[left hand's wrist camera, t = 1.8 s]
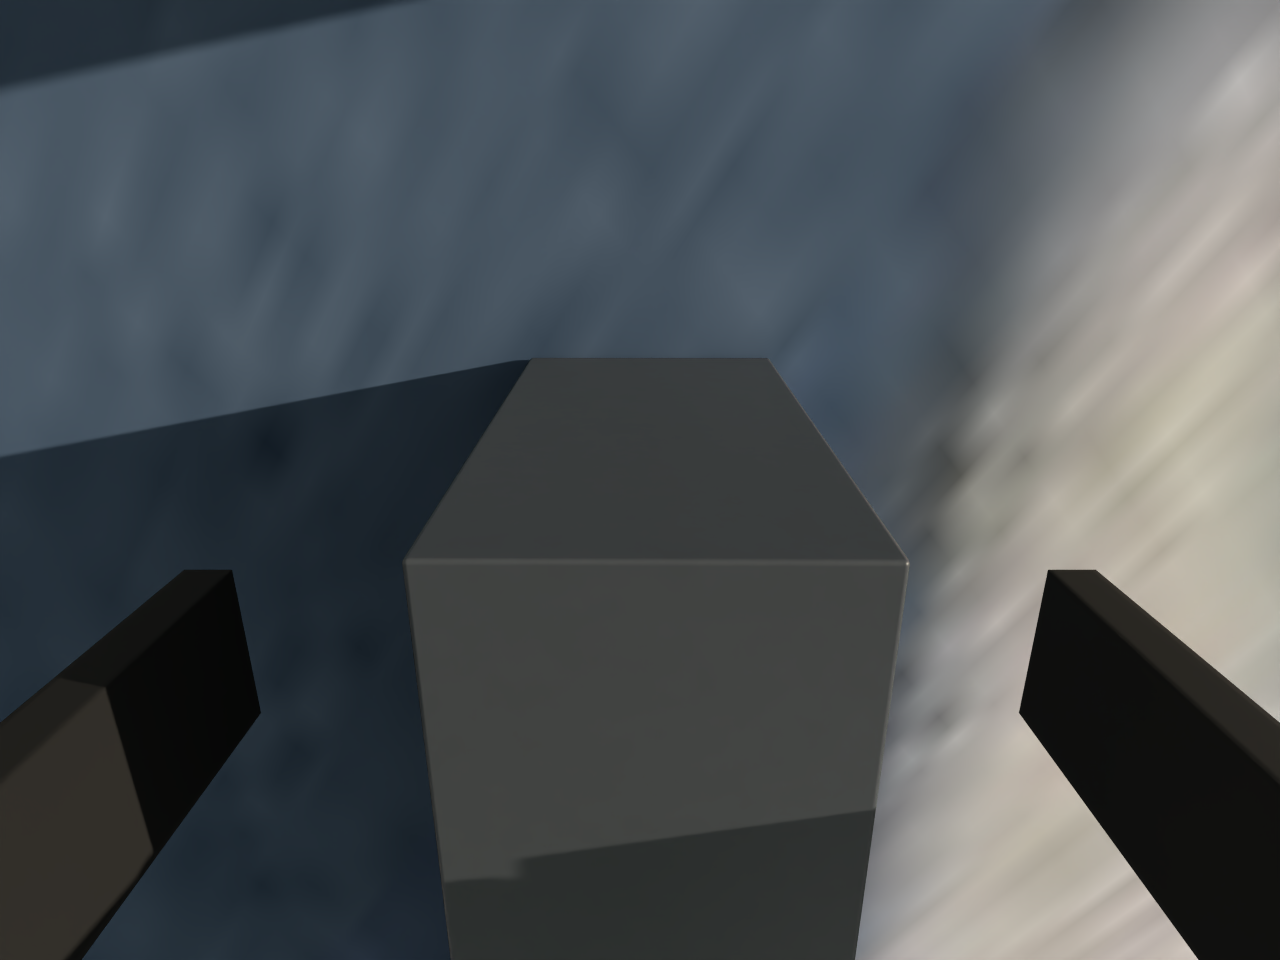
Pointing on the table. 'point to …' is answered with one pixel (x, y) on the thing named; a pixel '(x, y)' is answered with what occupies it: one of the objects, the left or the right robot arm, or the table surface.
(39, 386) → the table surface
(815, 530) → the bar
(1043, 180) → the table surface
